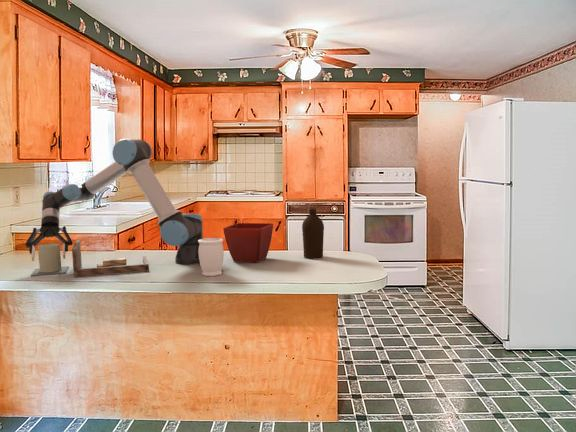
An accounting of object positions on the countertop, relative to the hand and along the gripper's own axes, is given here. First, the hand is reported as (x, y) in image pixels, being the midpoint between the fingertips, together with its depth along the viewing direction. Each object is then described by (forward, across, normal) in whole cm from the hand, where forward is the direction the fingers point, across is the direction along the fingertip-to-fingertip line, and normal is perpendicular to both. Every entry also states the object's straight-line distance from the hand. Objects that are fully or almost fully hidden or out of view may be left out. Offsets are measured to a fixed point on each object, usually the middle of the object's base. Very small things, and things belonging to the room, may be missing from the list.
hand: (48, 258), depth 229 cm
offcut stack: (+9, -27, -1) cm, 29 cm away
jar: (+27, -67, +17) cm, 74 cm away
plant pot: (+10, -90, 0) cm, 90 cm away
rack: (+5, -27, -5) cm, 27 cm away
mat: (+3, 0, -7) cm, 7 cm away
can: (+2, 0, -6) cm, 7 cm away
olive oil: (+14, -120, +4) cm, 121 cm away
